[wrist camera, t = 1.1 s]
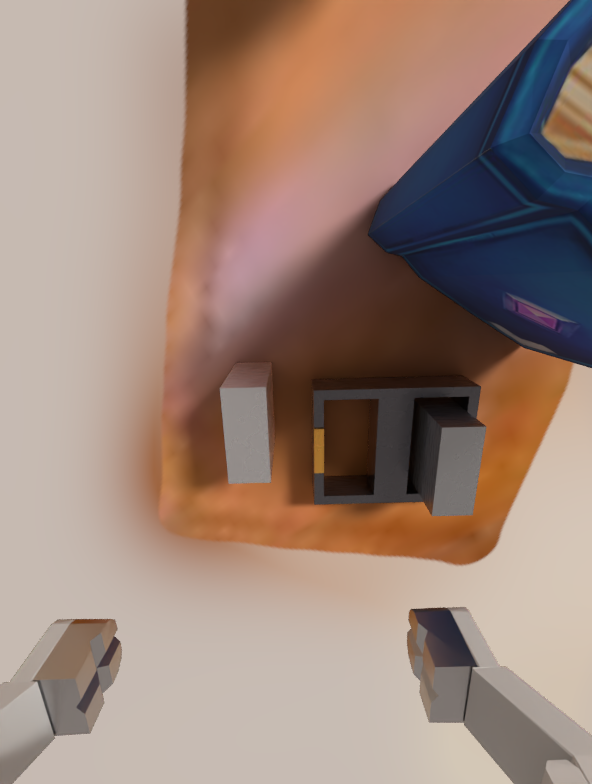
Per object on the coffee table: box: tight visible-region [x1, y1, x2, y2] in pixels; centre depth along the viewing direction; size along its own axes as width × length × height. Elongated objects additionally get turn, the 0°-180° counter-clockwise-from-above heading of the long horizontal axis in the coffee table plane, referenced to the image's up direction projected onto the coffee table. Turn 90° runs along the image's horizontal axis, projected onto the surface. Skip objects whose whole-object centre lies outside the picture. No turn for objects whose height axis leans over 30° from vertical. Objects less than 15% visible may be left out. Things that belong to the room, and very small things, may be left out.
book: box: [368, 0, 592, 368], centre depth 23 cm, size 22×7×25 cm, turn 59°
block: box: [220, 362, 275, 484], centre depth 35 cm, size 9×4×9 cm, turn 1°
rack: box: [311, 375, 486, 516], centre depth 36 cm, size 13×16×9 cm
